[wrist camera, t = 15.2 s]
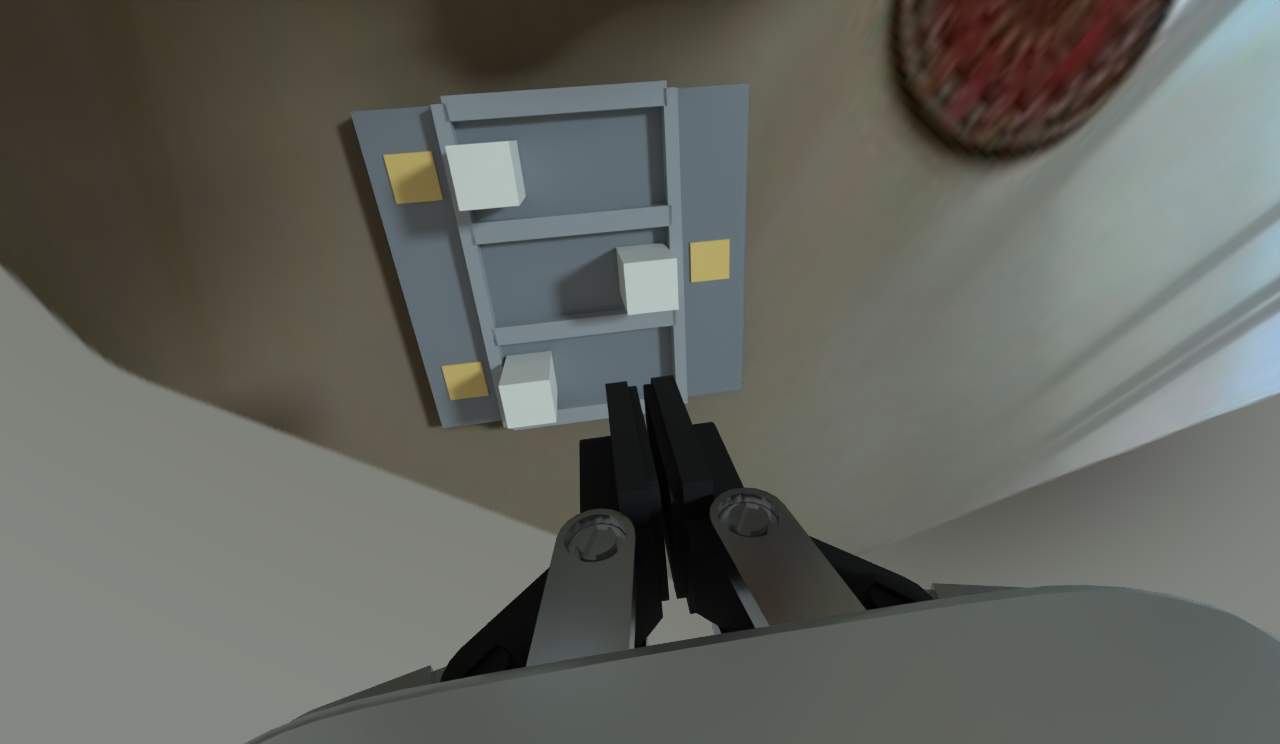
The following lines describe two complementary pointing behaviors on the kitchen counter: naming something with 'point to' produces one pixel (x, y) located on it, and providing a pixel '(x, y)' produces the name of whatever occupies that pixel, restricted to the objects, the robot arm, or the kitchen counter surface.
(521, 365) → the tab
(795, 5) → the kitchen counter surface
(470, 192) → the tab
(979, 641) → the robot arm
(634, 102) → the switch board
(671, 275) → the tab
